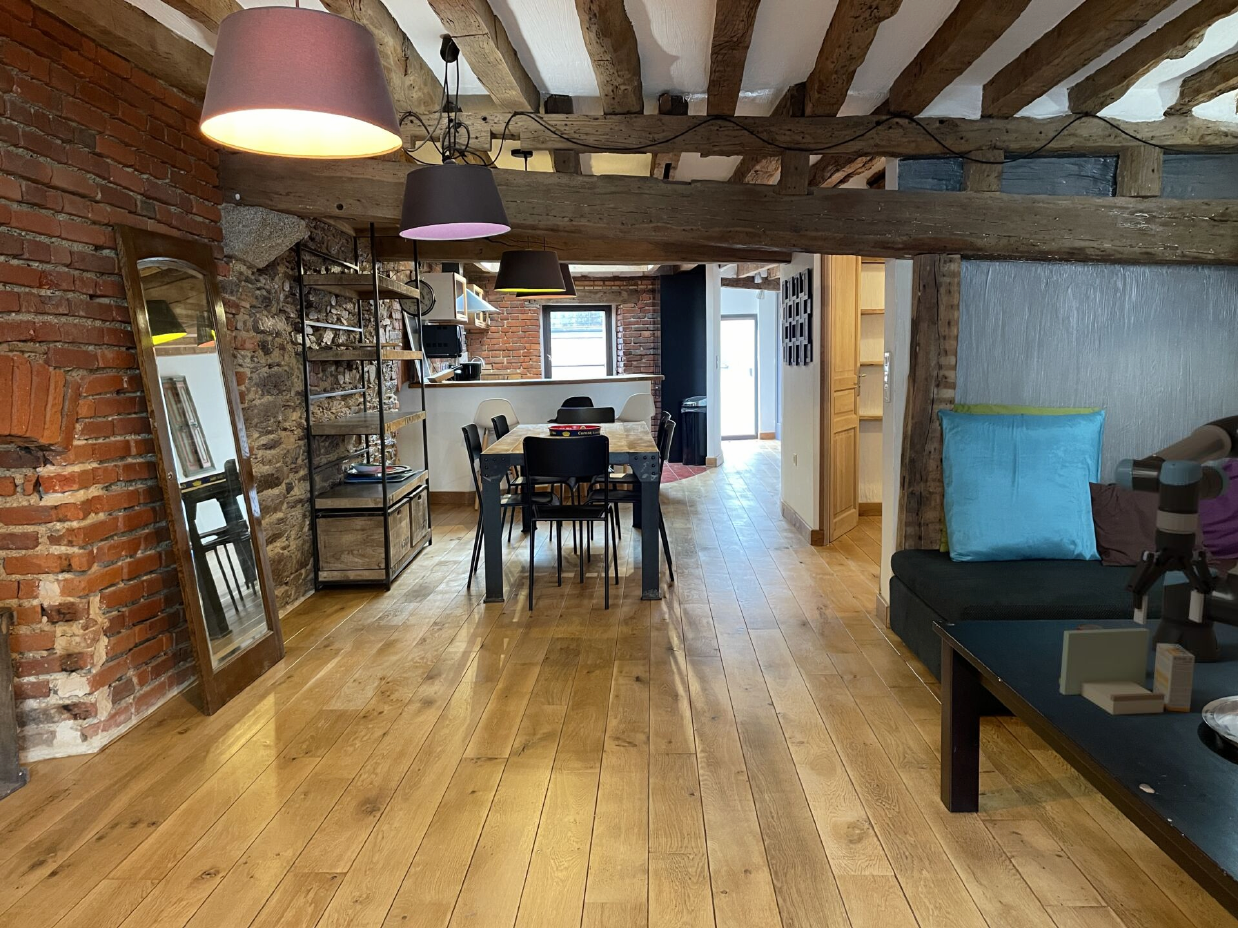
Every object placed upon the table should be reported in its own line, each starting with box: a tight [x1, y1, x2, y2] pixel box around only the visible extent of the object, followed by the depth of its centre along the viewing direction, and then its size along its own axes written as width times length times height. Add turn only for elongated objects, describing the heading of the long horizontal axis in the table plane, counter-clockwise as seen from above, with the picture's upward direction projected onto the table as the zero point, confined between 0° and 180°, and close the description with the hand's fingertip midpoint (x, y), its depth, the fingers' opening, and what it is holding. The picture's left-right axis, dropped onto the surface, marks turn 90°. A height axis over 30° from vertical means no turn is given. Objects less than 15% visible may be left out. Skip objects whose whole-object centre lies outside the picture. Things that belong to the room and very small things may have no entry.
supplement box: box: [1152, 643, 1195, 713], centre depth 188 cm, size 8×5×13 cm, turn 168°
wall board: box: [1058, 627, 1165, 716], centre depth 192 cm, size 20×18×15 cm
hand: (1167, 621), depth 187 cm, fingers open, 13 cm apart
